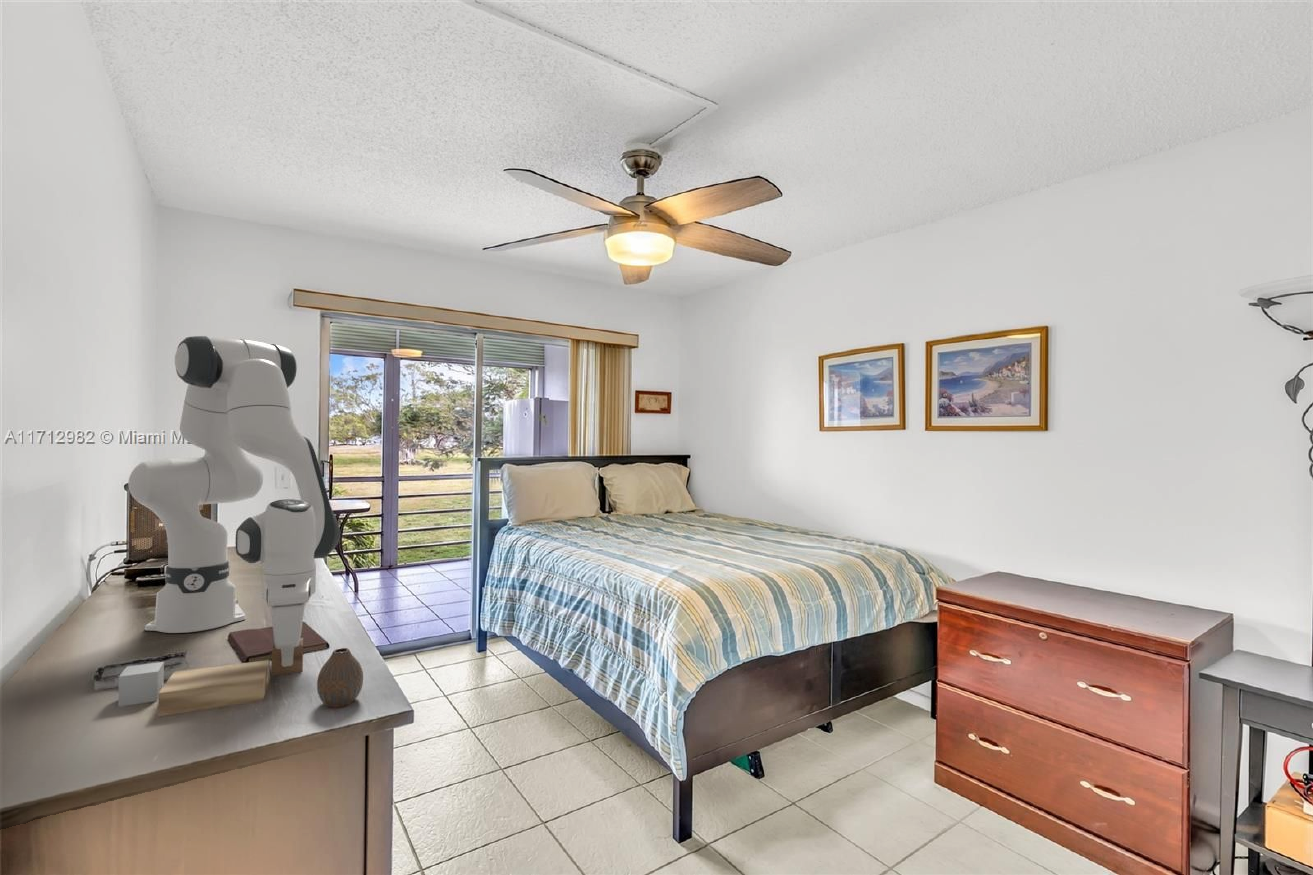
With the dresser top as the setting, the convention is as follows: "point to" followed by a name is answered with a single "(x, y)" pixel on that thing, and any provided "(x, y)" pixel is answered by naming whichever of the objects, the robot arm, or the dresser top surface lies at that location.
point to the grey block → (140, 683)
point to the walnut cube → (295, 667)
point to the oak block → (214, 687)
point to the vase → (340, 679)
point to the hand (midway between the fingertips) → (287, 658)
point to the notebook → (270, 642)
